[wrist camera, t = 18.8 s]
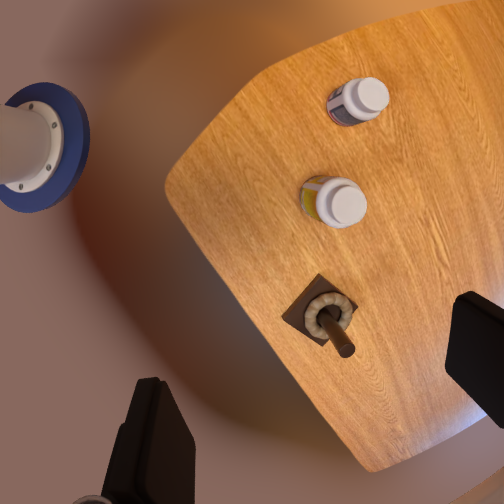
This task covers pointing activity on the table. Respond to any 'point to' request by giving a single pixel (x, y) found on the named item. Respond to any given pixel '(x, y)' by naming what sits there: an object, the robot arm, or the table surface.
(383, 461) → the table surface
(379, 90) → the pill bottle
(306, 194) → the supplement bottle
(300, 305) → the stand
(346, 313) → the ring
